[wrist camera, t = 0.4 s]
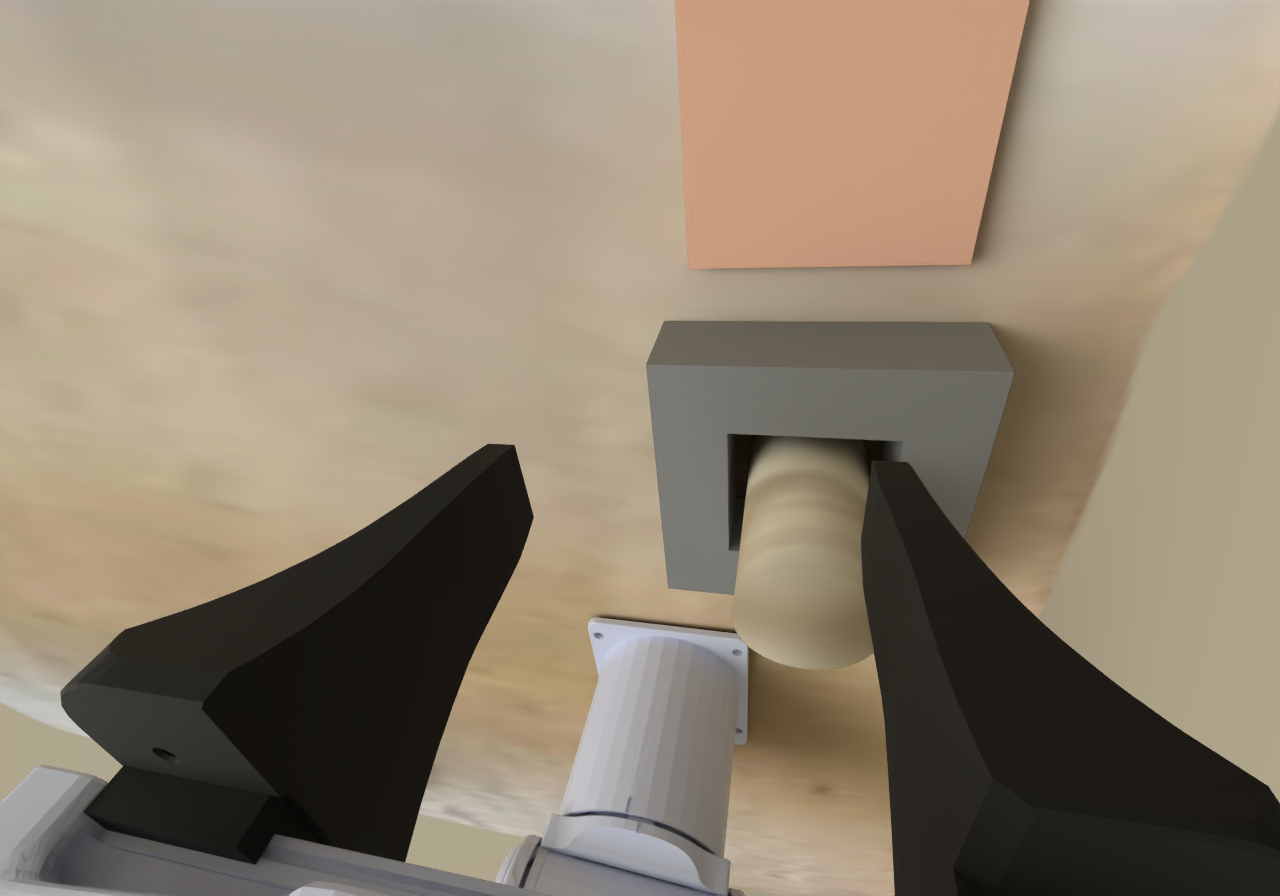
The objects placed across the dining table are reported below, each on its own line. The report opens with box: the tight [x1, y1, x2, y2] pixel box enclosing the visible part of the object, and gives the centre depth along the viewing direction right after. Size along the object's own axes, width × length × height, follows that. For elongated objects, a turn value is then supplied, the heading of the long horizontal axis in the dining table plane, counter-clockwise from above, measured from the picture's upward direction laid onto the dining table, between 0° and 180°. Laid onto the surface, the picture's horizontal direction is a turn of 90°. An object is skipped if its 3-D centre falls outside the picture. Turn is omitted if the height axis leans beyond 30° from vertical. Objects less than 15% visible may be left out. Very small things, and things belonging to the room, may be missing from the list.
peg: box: [732, 435, 874, 670], centre depth 20 cm, size 4×4×8 cm
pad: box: [675, 0, 1030, 269], centre depth 16 cm, size 8×8×1 cm
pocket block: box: [646, 321, 1015, 595], centre depth 22 cm, size 10×10×3 cm
